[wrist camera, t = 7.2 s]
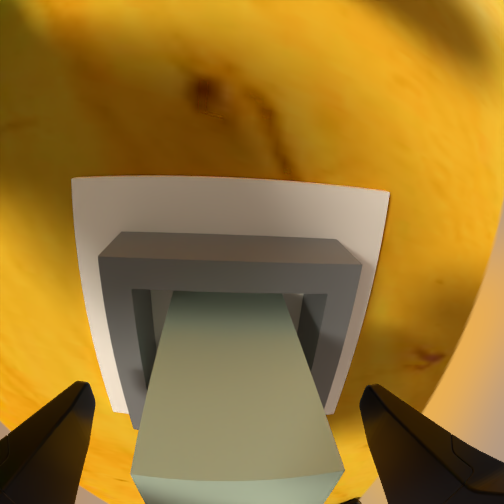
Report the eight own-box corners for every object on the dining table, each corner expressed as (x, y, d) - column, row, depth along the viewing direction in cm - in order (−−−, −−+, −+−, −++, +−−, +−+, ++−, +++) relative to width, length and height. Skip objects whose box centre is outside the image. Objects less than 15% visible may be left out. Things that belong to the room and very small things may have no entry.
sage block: (279, 287, 12) (344, 470, 5) (269, 365, 14) (304, 530, 6) (175, 284, 12) (130, 474, 4) (180, 364, 13) (162, 532, 6)
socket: (385, 190, 12) (425, 207, 9) (331, 408, 16) (346, 447, 13) (75, 177, 10) (36, 191, 8) (114, 406, 14) (103, 446, 12)
